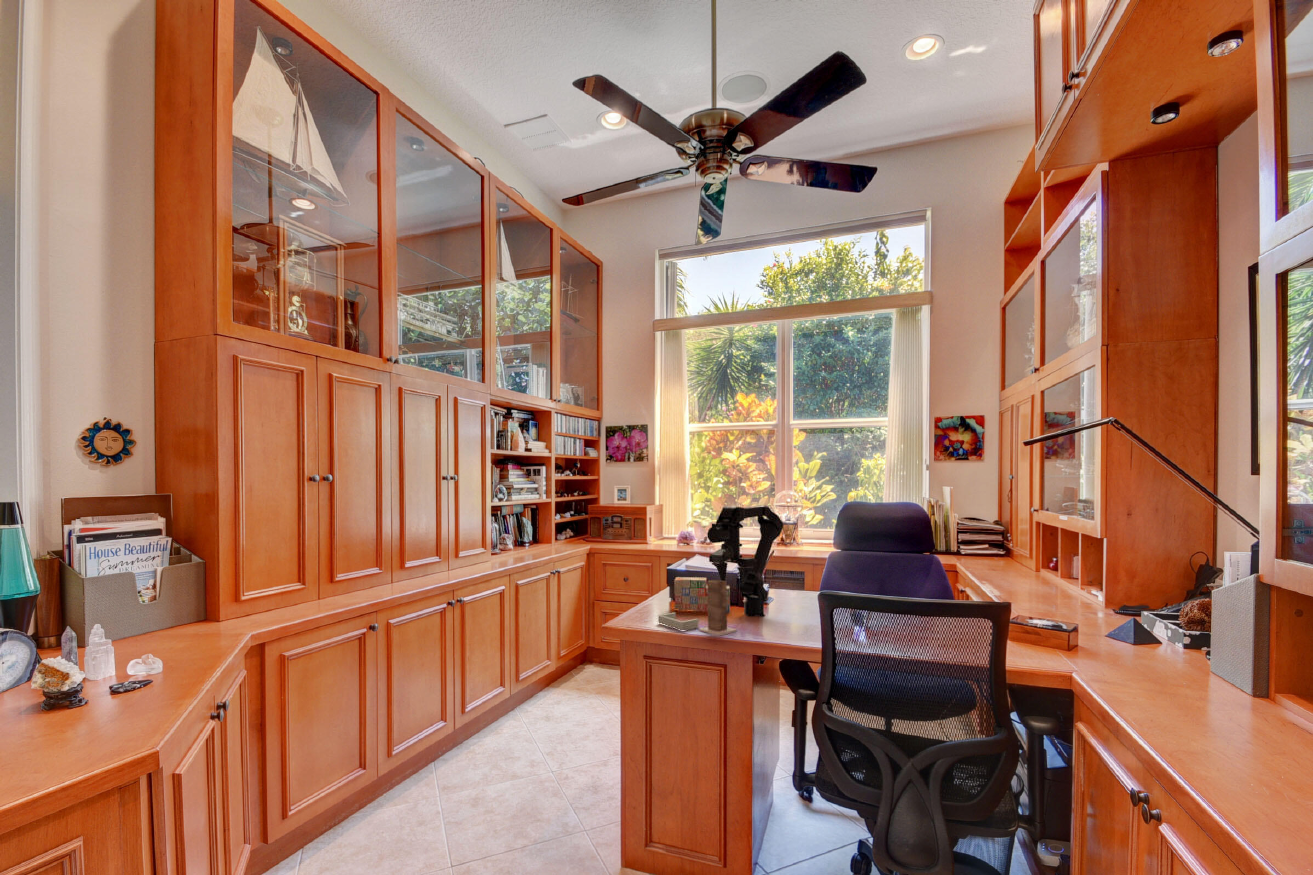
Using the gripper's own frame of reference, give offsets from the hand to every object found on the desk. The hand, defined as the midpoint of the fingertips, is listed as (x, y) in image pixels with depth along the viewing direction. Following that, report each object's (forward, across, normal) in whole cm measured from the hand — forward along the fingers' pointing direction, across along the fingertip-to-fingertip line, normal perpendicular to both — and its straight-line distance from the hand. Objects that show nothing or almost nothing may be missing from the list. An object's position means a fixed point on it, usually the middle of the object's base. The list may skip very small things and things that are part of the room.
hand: (732, 584), depth 208 cm
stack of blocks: (+13, -19, +3) cm, 23 cm away
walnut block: (+12, +6, -14) cm, 20 cm away
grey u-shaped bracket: (+13, -7, -20) cm, 24 cm away
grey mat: (+13, +6, -14) cm, 20 cm away
